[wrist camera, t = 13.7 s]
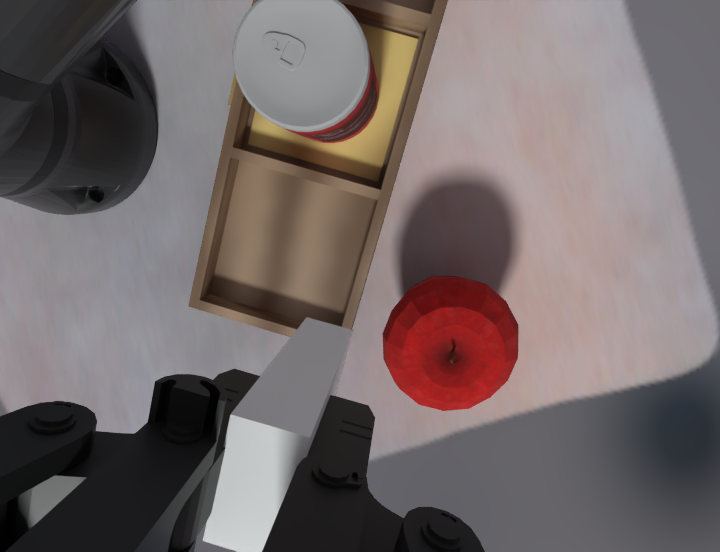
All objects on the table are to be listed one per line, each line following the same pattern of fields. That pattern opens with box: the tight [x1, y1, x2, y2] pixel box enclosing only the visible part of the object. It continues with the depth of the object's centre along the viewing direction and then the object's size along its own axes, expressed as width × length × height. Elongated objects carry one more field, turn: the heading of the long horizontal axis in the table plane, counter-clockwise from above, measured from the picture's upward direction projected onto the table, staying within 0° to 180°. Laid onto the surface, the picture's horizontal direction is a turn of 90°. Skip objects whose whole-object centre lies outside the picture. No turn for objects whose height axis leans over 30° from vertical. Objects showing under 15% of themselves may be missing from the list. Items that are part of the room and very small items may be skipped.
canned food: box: [233, 0, 379, 143], centre depth 33 cm, size 8×8×11 cm
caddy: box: [189, 0, 448, 337], centre depth 38 cm, size 14×39×3 cm, turn 164°
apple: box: [383, 276, 518, 411], centre depth 37 cm, size 10×10×11 cm
